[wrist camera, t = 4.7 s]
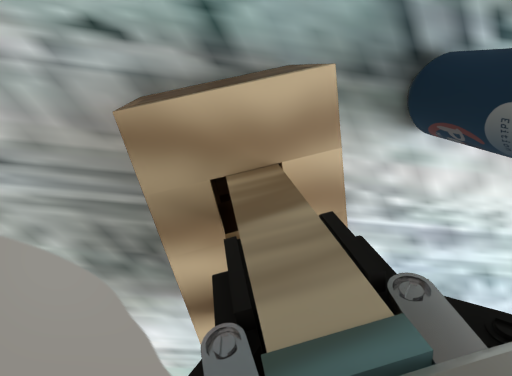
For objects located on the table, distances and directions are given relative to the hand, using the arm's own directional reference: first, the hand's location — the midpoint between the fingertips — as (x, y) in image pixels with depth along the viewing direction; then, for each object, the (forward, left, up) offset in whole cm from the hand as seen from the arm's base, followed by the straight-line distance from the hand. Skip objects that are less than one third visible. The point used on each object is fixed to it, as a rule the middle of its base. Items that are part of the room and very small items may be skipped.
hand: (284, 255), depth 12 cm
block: (0, 0, -8) cm, 8 cm away
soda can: (-2, +19, -15) cm, 24 cm away
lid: (+3, 0, -7) cm, 8 cm away
